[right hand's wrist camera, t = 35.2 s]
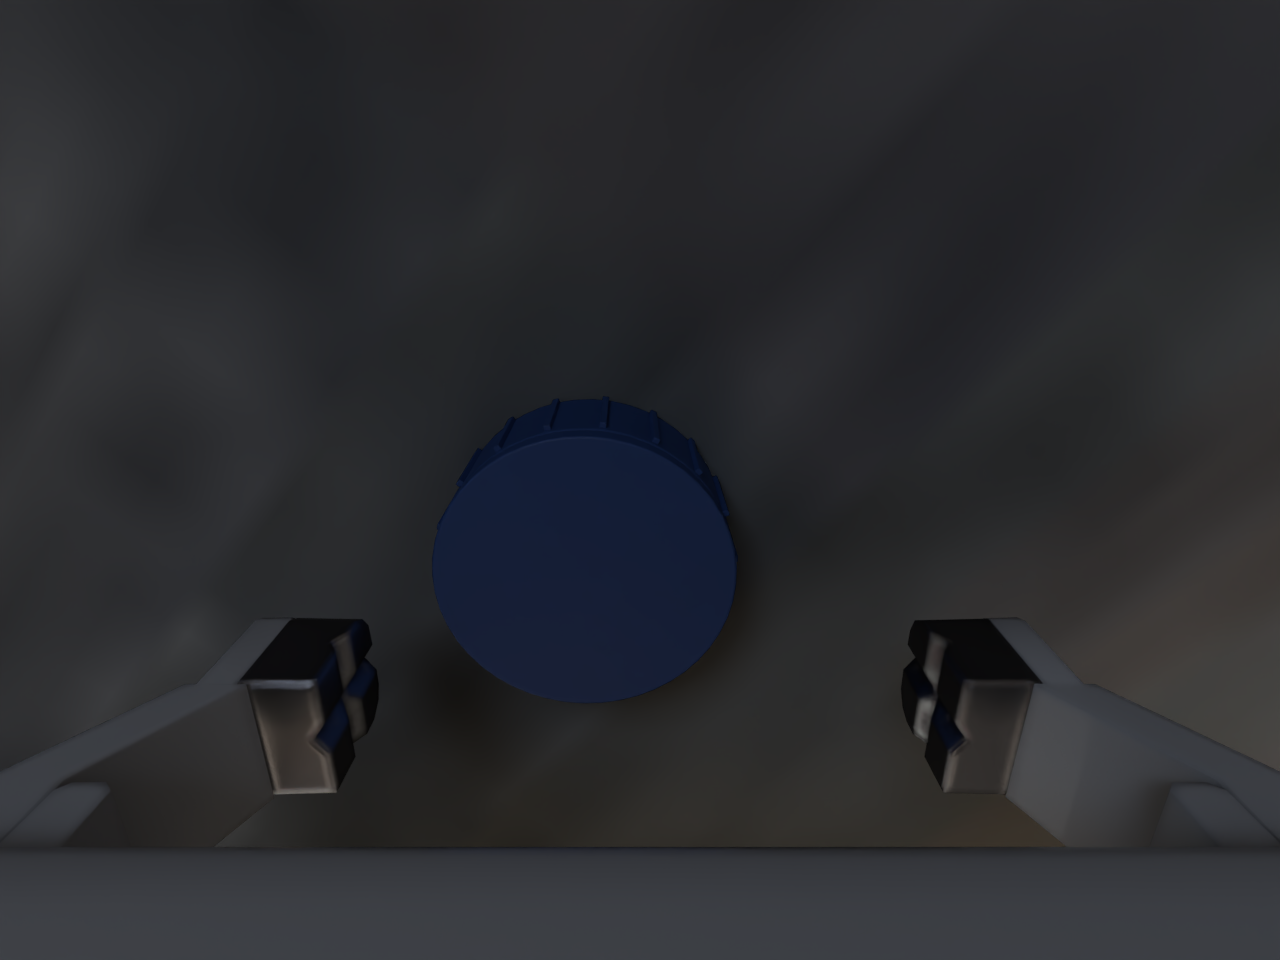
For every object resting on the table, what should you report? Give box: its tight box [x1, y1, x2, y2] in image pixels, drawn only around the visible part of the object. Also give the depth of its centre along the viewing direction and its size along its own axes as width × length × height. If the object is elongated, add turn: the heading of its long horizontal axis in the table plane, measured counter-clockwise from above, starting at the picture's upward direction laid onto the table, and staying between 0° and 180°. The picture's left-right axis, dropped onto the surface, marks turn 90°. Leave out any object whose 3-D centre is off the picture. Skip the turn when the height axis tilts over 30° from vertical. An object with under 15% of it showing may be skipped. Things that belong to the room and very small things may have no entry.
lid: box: [432, 396, 738, 703], centre depth 12 cm, size 5×5×2 cm
